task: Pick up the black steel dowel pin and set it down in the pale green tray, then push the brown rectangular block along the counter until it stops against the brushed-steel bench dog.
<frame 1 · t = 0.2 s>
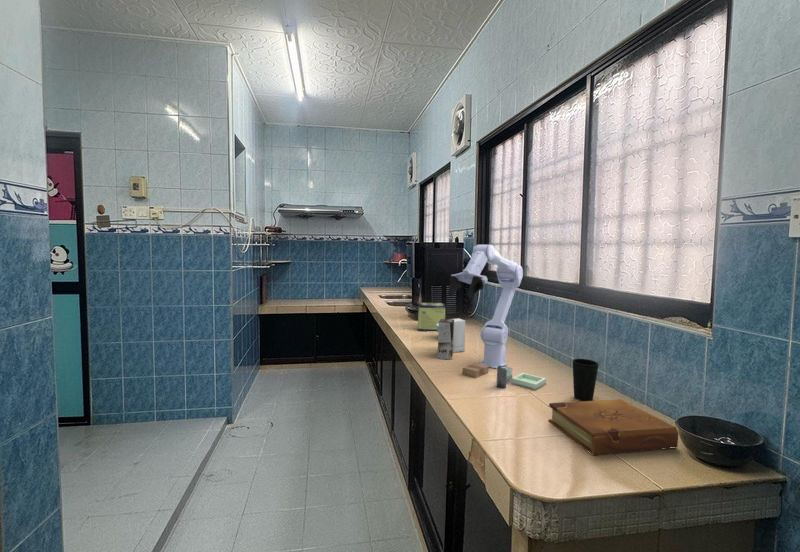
hand: (459, 295, 137), 31 cm above the worktop, tool tilted 45°, fingers open, 7 cm apart
bench dog: (505, 381, 141), on the worktop
diary: (608, 436, 102), on the worktop
chinaware: (449, 339, 205), on the worktop
protein box: (430, 330, 229), on the worktop
green tray: (528, 383, 139), on the worktop
brown rectangular block: (475, 374, 149), on the worktop
skincare box: (454, 351, 182), on the worktop
coffee box: (445, 357, 172), on the worktop
steel pin: (501, 386, 135), on the worktop
cup: (583, 398, 126), on the worktop
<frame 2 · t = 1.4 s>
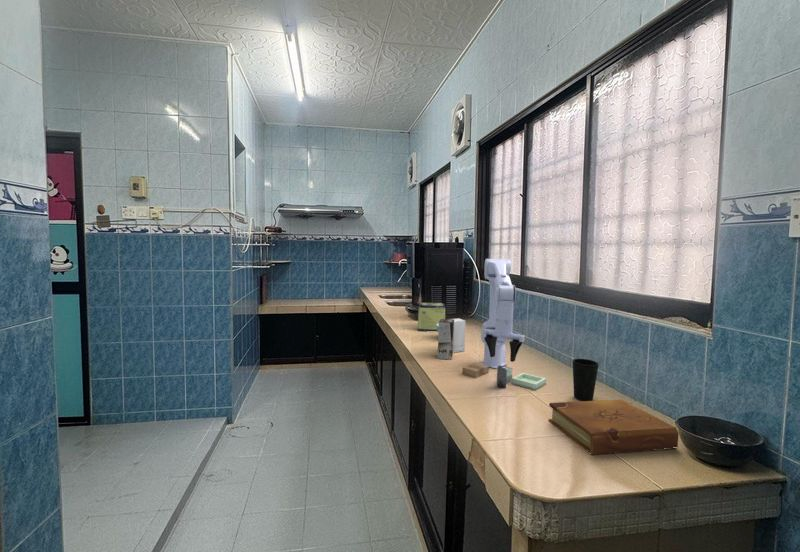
hand: (502, 358, 135), 10 cm above the worktop, tool pointing down, fingers open, 7 cm apart
nothing on the worktop moved.
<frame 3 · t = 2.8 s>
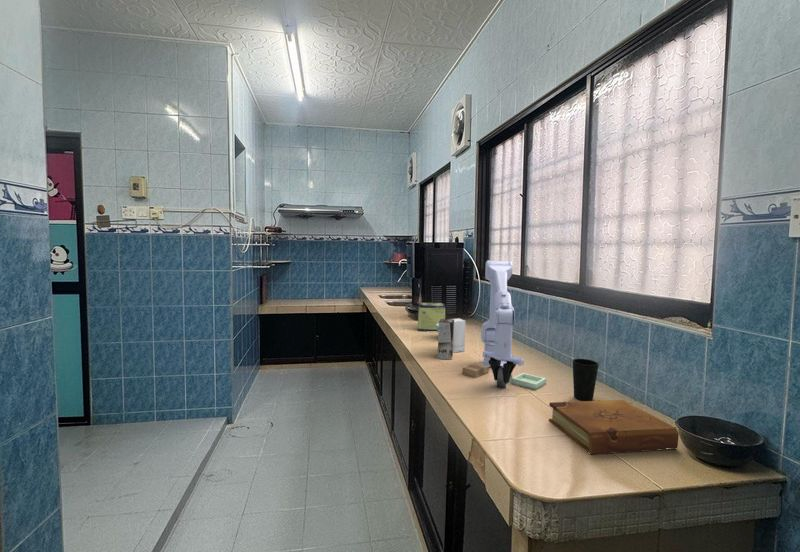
hand: (501, 381, 135), 2 cm above the worktop, tool pointing down, fingers closed on steel pin, 3 cm apart
steel pin: (501, 386, 135), on the worktop, touching gripper
everything else where it was.
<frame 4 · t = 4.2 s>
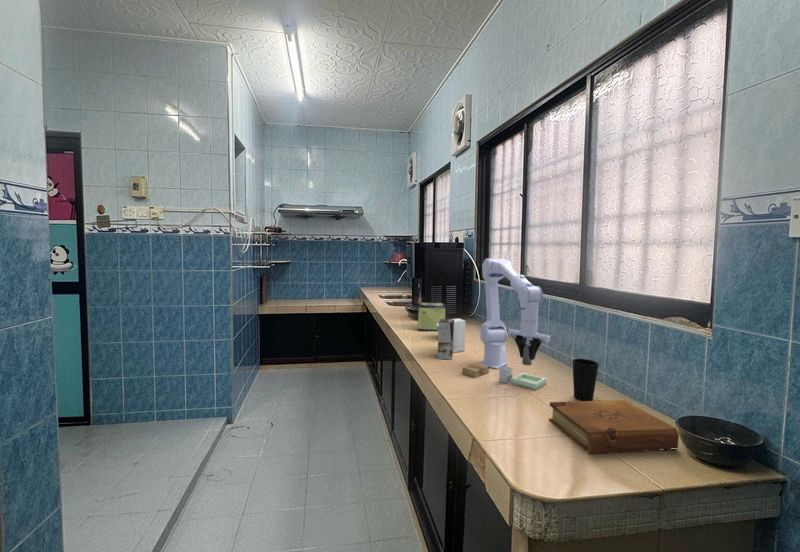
hand: (527, 358, 138), 9 cm above the worktop, tool pointing down, fingers closed on steel pin, 3 cm apart
steel pin: (526, 364, 138), point 7 cm above the worktop, touching gripper
everything else where it was.
when the fingers open (4 cm above the worktop, at t = 5.7 s): steel pin drops 1 cm, resting on green tray.
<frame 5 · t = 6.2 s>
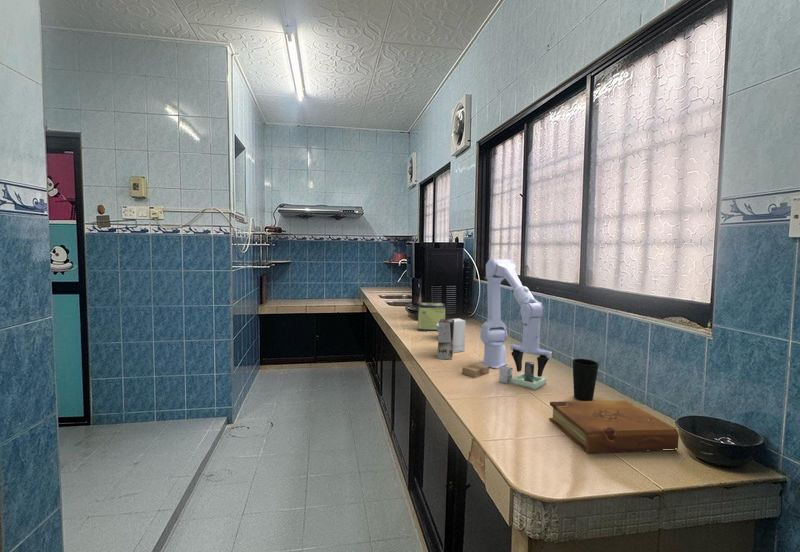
hand: (529, 373, 139), 4 cm above the worktop, tool pointing down, fingers open, 7 cm apart
steel pin: (528, 382, 139), point 1 cm above the worktop, touching green tray
everything else where it was.
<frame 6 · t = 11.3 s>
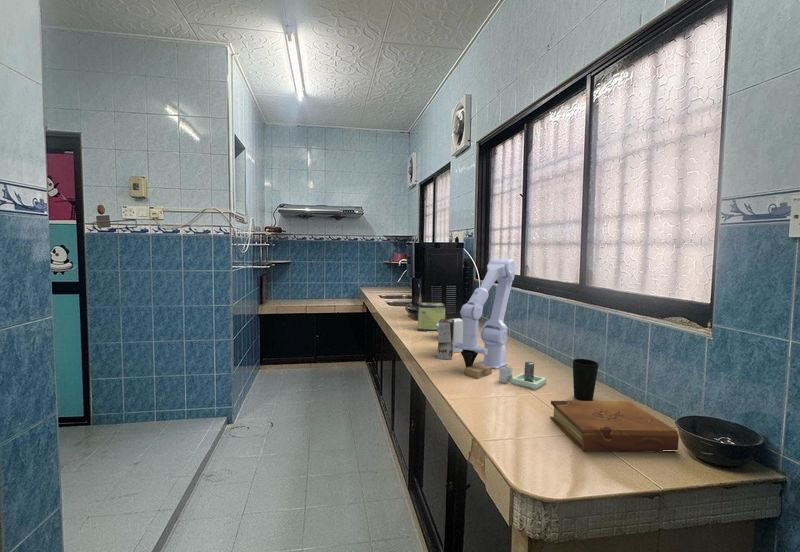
hand: (469, 369, 151), 1 cm above the worktop, tool pointing down, fingers closed
brown rectangular block: (478, 375, 148), on the worktop, touching gripper
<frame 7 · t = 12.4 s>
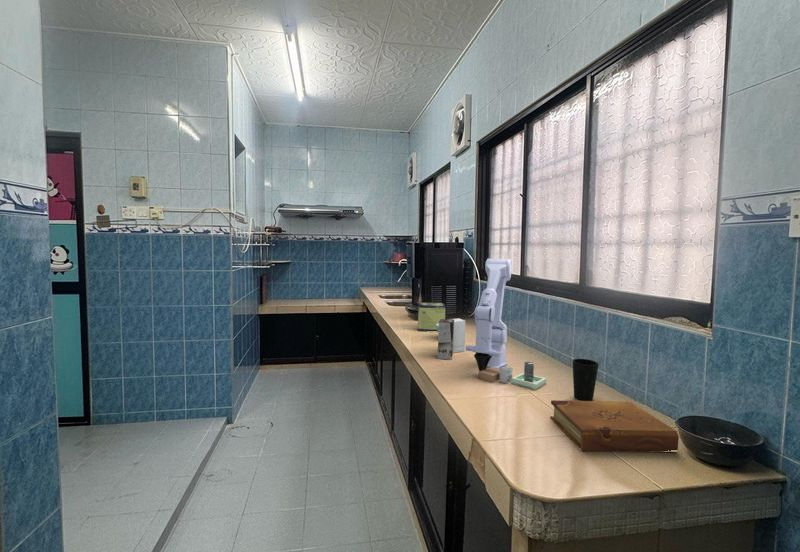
hand: (482, 372, 147), 1 cm above the worktop, tool pointing down, fingers closed
brown rectangular block: (491, 379, 144), on the worktop, touching gripper
everything else where it was.
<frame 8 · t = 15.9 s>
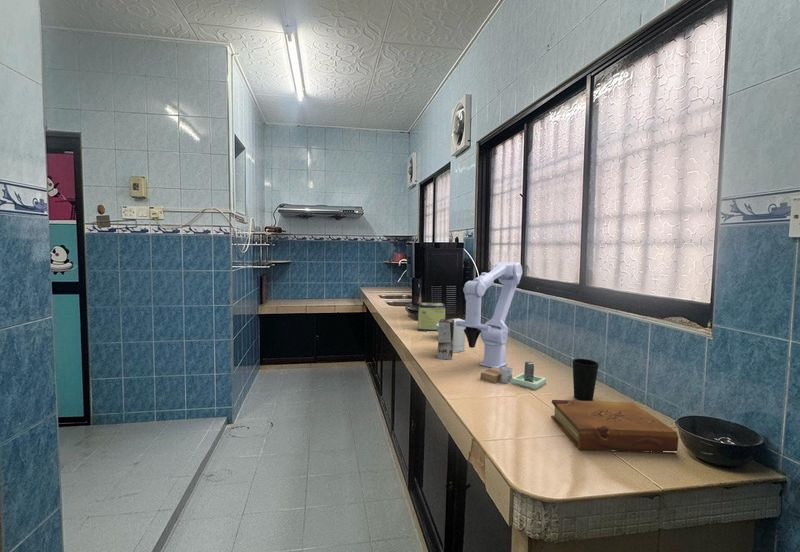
hand: (471, 347, 150), 10 cm above the worktop, tool pointing down, fingers closed
brown rectangular block: (494, 379, 144), on the worktop
at the end: steel pin 0.2 cm off-centre on the green tray, point 0.6 cm above the green tray's base; brown rectangular block 0.8 cm from the target spot, on the worktop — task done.
